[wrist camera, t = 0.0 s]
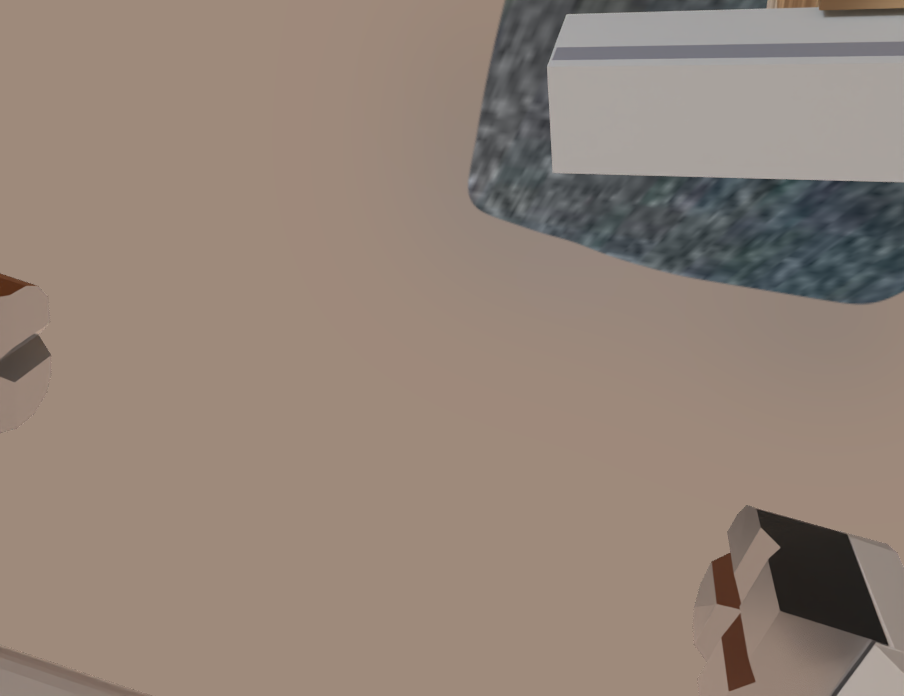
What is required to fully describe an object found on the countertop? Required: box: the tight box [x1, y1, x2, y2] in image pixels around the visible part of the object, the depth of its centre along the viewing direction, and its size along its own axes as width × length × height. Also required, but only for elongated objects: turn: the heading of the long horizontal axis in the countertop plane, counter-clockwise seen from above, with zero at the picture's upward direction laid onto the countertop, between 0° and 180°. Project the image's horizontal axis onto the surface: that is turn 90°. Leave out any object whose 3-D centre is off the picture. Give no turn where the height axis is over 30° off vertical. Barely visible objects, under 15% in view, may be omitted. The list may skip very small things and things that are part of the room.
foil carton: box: [547, 7, 904, 182], centre depth 28 cm, size 20×4×4 cm, turn 97°
